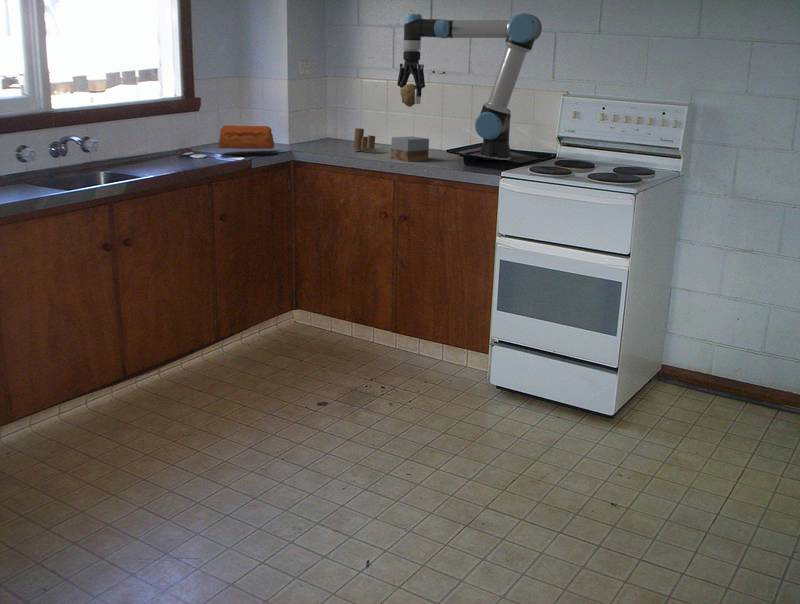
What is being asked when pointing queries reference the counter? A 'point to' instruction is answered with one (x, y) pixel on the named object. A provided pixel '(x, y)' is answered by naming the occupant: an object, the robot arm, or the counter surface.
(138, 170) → the counter surface
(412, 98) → the natural sponge
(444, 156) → the counter surface
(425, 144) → the tower top slab
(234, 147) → the bread
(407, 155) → the tower base slab
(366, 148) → the wooden block set
